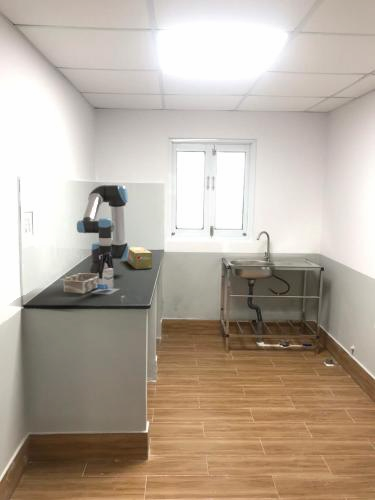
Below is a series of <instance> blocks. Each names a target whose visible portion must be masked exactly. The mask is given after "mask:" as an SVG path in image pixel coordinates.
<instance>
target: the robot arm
mask: <svg viewBox="0 0 375 500" xmlns="http://www.w3.org/2000/svg"><path fill="white" fill-rule="evenodd" d="M128 197H129V196H128V189H127V187H126V186H125V185H120V184H118V185H117V184H113V185H112V184H111V185H107V184H103V185H102V184H101V185H99V186H97V187H95V188H94V189H93V190H92V191H90V193H89V194H88V197H87V199H88V203H87V206H86V209H85V212H84V214H83V217H82V220H78V221H76V231H77V232H78V233H79V234H98V242H93V243H92V244H91V266H90V268H89V269H90V270H89V273H94V274H97V273H99V284H104V273H103V270H104V266H105V263H107V265H108V268H113V269H114V261H115V260H117V261H119V260H120V261H123V260H126V261H127V258H128V254H129V247H130V243H128V241H127V239H126V237H125V235H126V234H125V233H126V232H125V230H126V229H125V212H124V211H125V208H124V207H125V206H127V205H126V204H127V203H128V202H129V198H128ZM103 203H108V206H109V207H110V210H111V211H110V212H111V213H110V214H111V218H103V217H102V218H98V220H96V219H97V216H98V213H99V210H100V206H101V205H102V204H103Z"/></svg>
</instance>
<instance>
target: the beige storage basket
mask: <svg viewBox="0 0 375 500" xmlns="http://www.w3.org/2000/svg"><path fill="white" fill-rule="evenodd" d="M59 281H62V282H63V292H65V293H73V294H82V295H83V294H86V293H88V292H92V291H93V290H96V289H98V288H97V274H94V273H90V272H83V273H81V272H78V273H75V274H73V275H72V274H71V275H69V276H66V277H64V278H63V277H62V278H60V279H59Z"/></svg>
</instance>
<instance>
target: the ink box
mask: <svg viewBox="0 0 375 500" xmlns="http://www.w3.org/2000/svg"><path fill="white" fill-rule="evenodd" d="M103 273H104V284H99V273H97V288H96V289H97V290H98V289H101V290H104V289H109V288H113V289H114V268H108V265H107V263H105V266H104V270H103Z"/></svg>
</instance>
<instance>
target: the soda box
mask: <svg viewBox="0 0 375 500" xmlns="http://www.w3.org/2000/svg"><path fill="white" fill-rule="evenodd" d="M126 262H127V264H129V265H130V266H131V267H133V268H134V269H136V270H140V269H141V270H143V269H153V252H151V251H150V250H148V249H146V248H145V247H143V246H129V254H128V258H127V259H126Z"/></svg>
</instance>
